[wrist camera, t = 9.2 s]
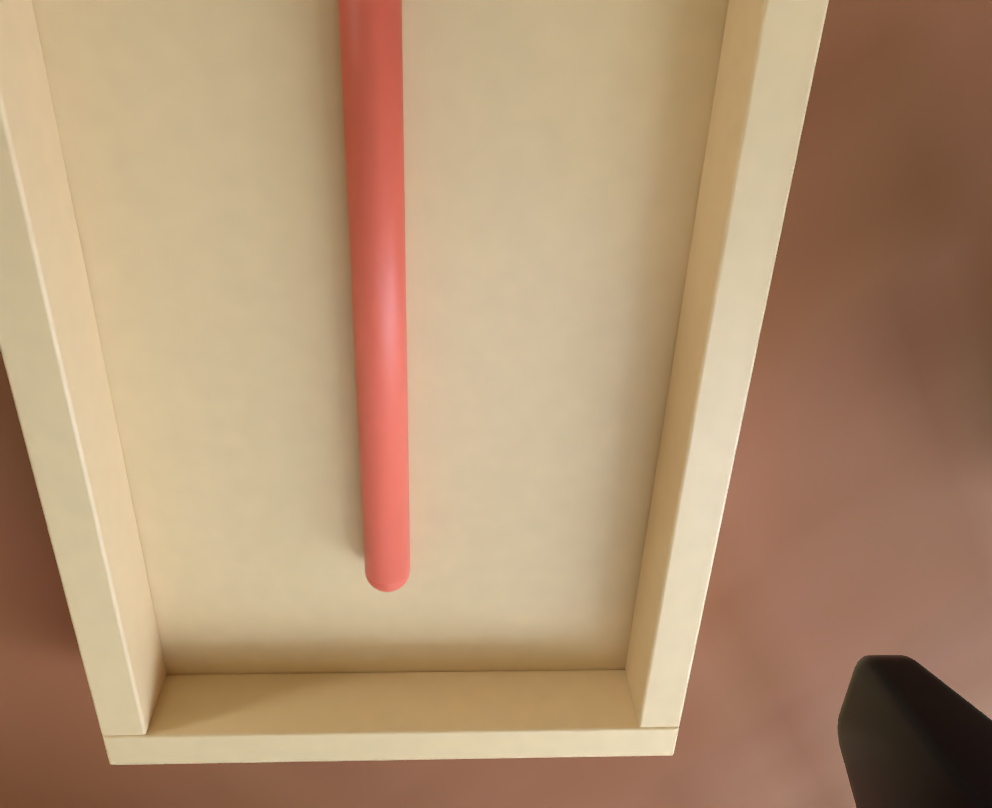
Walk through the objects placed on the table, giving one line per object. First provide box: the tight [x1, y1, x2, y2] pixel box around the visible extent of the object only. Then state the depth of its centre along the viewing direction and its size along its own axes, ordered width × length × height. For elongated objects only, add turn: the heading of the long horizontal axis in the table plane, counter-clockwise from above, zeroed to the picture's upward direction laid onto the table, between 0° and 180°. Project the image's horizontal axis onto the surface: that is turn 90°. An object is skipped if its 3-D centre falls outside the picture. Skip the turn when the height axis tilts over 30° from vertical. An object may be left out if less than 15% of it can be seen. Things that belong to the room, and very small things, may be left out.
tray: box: [0, 0, 829, 765], centre depth 13 cm, size 19×11×2 cm, turn 178°
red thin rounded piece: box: [338, 0, 410, 592], centre depth 13 cm, size 7×1×10 cm
